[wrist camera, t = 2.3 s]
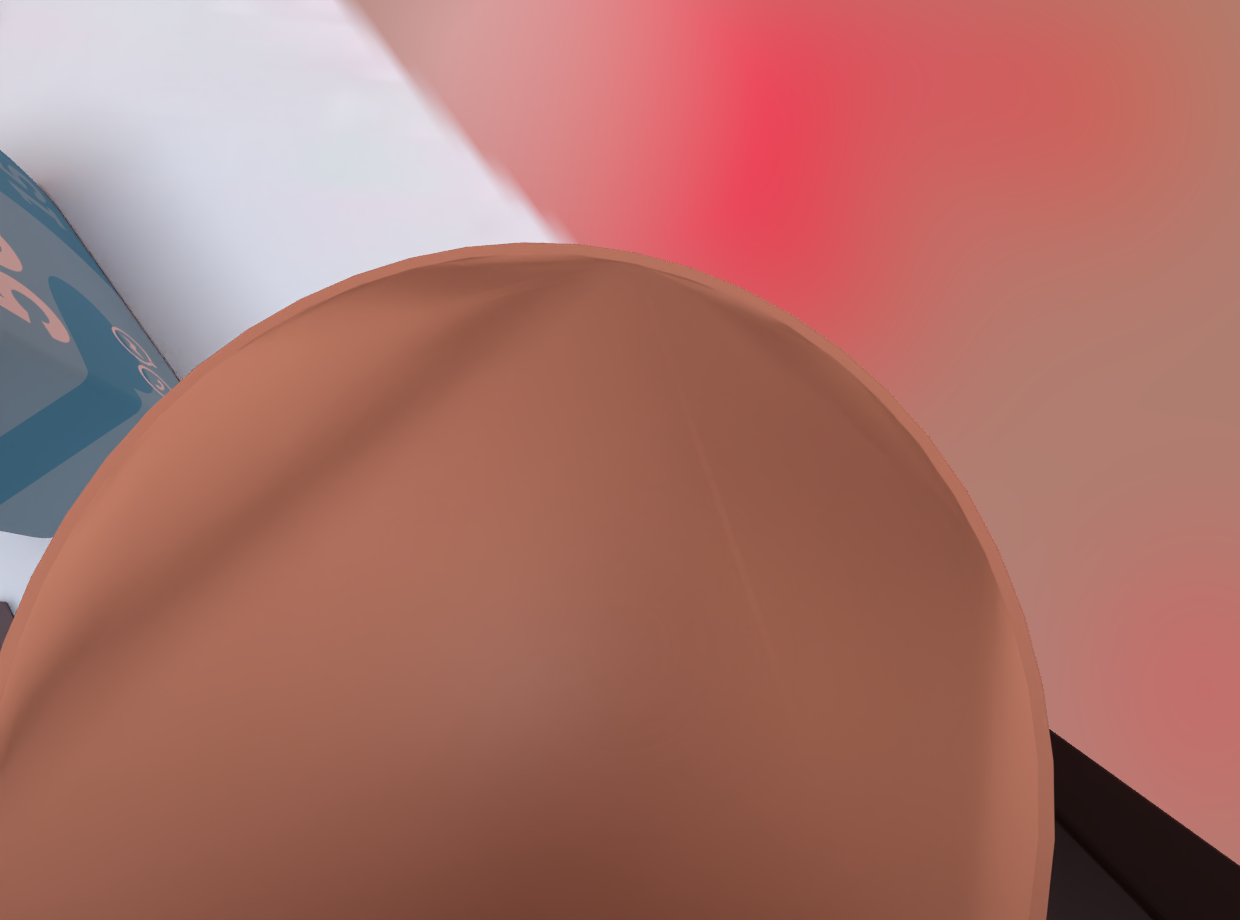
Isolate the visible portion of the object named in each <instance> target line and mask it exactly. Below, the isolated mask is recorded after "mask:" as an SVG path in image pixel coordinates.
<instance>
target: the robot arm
mask: <svg viewBox="0 0 1240 920" xmlns="http://www.w3.org/2000/svg"><path fill="white" fill-rule="evenodd" d="M1049 733H1050V740H1051V747H1052V755H1053V766H1054V829H1055V842H1054V851H1053V861H1052V870H1051V879H1050V889H1049V898H1048V907H1047V916H1046V920H1240V866H1239V865H1238V864H1236V863H1235V862H1234V861H1232V860H1231V859H1230V858H1228V857H1227V856H1225V855H1224V854H1222V853H1221V852H1220V851H1218V850H1217V849H1216V848H1214V847H1213V846H1211V845H1210V844H1208V843H1207V842H1206V841H1204V840H1203V839H1201V838H1200V837H1199V836H1197V835H1196V834H1195V833H1193V832H1192V831H1191V830H1189V829H1188V828H1186V827H1185V826H1184V825H1182V824H1181V823H1179V822H1178V821H1177V820H1175V819H1174V818H1172V817H1171V816H1170V815H1168V814H1167V813H1165V812H1164V811H1163V810H1161V809H1160V808H1159V807H1157V806H1156V805H1154V804H1153V803H1151V802H1150V801H1149V800H1147V799H1146V798H1145V797H1143V796H1142V795H1140V794H1139V793H1138V792H1136V791H1135V790H1133V789H1132V788H1131V787H1129V786H1128V785H1126V784H1125V783H1124V782H1122V781H1121V780H1119V779H1118V778H1117V777H1115V776H1114V775H1113V774H1111V773H1110V772H1108V771H1107V770H1106V769H1104V768H1103V767H1101V766H1100V765H1099V764H1097V763H1096V762H1094V761H1093V760H1092V759H1090V758H1089V757H1088V756H1086V755H1085V754H1083V753H1082V752H1081V751H1079V750H1078V749H1076V748H1075V747H1074V746H1072V745H1071V744H1069V743H1068V742H1067V741H1065V740H1064V739H1062V738H1061V737H1060V736H1058V735H1057V734H1056V733H1054V732H1053V731H1051V730H1050V729H1049Z"/></svg>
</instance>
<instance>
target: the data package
mask: <svg viewBox="0 0 1240 920" xmlns="http://www.w3.org/2000/svg"><path fill="white" fill-rule="evenodd" d="M178 383H179V381H178V379H177V378H176V376H175V375H174V374H173V372H172V371H171V369H170V368H169V366H168V365H167V364H166V362H165V361H164V359H163V358H162V356H161V355H160V354H159V352H158V351H157V349H156V348H155V346H154V345H153V344H152V342H151V341H150V339H149V338H148V337H147V335H146V334H145V332H144V331H143V329H142V328H141V327H140V325H139V324H138V322H137V321H136V319H135V318H134V317H133V315H132V314H131V312H130V311H129V309H128V308H127V307H126V305H125V304H124V302H123V301H122V300H121V298H120V297H119V295H118V294H117V292H116V291H115V290H114V288H113V287H112V285H111V284H110V282H109V281H108V280H107V278H106V277H105V275H104V274H103V273H102V271H101V270H100V268H99V267H98V265H97V264H96V263H95V261H94V260H93V258H92V257H91V255H90V254H89V253H88V251H87V250H86V248H85V247H84V245H83V244H82V243H81V241H80V240H79V238H78V237H77V236H76V234H75V233H74V231H73V230H72V228H71V227H70V226H69V224H68V223H67V221H66V220H65V218H64V217H63V216H62V214H61V213H60V211H59V210H58V209H57V207H56V206H55V205H54V203H53V202H52V201H51V200H50V199H49V197H48V196H47V195H46V194H45V193H44V192H43V191H42V190H41V188H40V187H39V186H38V185H37V184H36V183H35V182H34V181H33V180H32V179H31V178H30V177H29V176H28V175H27V174H26V173H25V172H24V171H23V170H22V169H21V168H20V167H19V166H17V165H16V164H15V163H14V162H13V161H12V160H11V159H10V158H9V157H8V156H6V155H5V154H4V153H3V152H2V151H1V150H0V531H5V532H10V533H15V534H21V535H26V536H31V537H38V538H52V537H54V535H55V533H56V531H57V530H58V528H59V526H60V524H61V522H62V521H63V519H64V517H65V515H66V514H67V512H68V511H69V510H70V508H71V507H72V505H73V504H74V503H75V501H76V500H77V498H78V497H79V496H80V494H81V493H82V491H83V490H84V489H85V487H86V486H87V484H88V483H89V482H90V480H91V479H92V477H93V476H94V475H95V473H96V472H97V470H98V469H99V467H100V466H101V465H102V463H103V462H104V460H105V459H106V458H107V457H108V456H109V455H110V453H111V452H112V451H113V450H114V449H115V448H116V447H117V446H118V444H119V443H120V442H121V441H122V440H123V439H124V438H125V437H126V435H127V434H128V433H129V432H130V431H131V430H132V429H133V428H134V426H135V425H136V424H137V423H138V422H139V421H140V420H141V419H142V417H143V416H144V415H145V414H146V413H147V412H148V411H149V410H150V409H151V408H152V407H153V406H154V405H155V404H156V403H157V402H158V401H159V400H161V399H162V398H163V397H164V396H165V395H166V394H167V393H168V392H169V391H170V390H172V389H173V388H174V387H175V386H176V385H177V384H178Z"/></svg>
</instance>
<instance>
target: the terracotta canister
mask: <svg viewBox="0 0 1240 920" xmlns="http://www.w3.org/2000/svg"><path fill="white" fill-rule="evenodd" d="M1054 842H1055V829H1054V766H1053V755H1052V747H1051V740H1050V733H1049V726H1048V718H1047V711H1046V704H1045V697H1044V689H1043V684H1042V680H1041V676H1040V673H1039V669H1038V665H1037V661H1036V657H1035V654H1034V650H1033V646H1032V642H1031V638H1030V634H1029V630H1028V627H1027V623H1026V619H1025V616H1024V613H1023V610H1022V608H1021V605H1020V603H1019V600H1018V597H1017V595H1016V592H1015V590H1014V588H1013V585H1012V582H1011V580H1010V577H1009V574H1008V572H1007V569H1006V567H1005V565H1004V562H1003V560H1002V557H1001V555H1000V552H999V550H998V547H997V546H996V544H995V542H994V540H993V538H992V536H991V534H990V533H989V531H988V529H987V527H986V525H985V523H984V521H983V520H982V518H981V516H980V514H979V512H978V510H977V509H976V506H975V505H974V503H973V501H972V499H971V497H970V495H969V494H968V491H967V490H966V488H965V487H964V486H963V484H962V483H961V481H960V480H959V478H958V477H957V476H956V474H955V473H954V471H953V470H952V468H951V467H950V465H949V464H948V463H947V461H946V460H945V458H944V457H943V455H942V454H941V453H940V451H939V450H938V448H937V447H936V445H935V444H934V443H933V441H932V440H931V438H930V437H929V436H928V435H927V434H926V432H925V431H924V430H923V429H922V428H921V427H920V426H919V425H918V423H917V422H916V421H915V420H914V419H913V418H912V417H911V416H910V414H909V413H908V412H907V411H906V410H905V409H904V408H903V407H902V405H901V404H900V403H899V402H898V401H897V400H896V399H895V398H894V396H893V395H892V394H891V393H890V392H889V391H888V390H887V389H886V388H885V387H884V386H883V385H882V384H880V383H879V382H878V381H877V380H876V379H875V378H874V377H873V376H871V375H870V374H869V373H868V372H867V371H866V370H864V368H862V367H861V366H860V365H859V364H858V363H857V362H856V361H855V360H853V359H852V358H851V357H850V356H849V355H848V354H847V353H846V352H844V351H843V350H842V349H841V348H839V347H838V346H836V345H835V344H834V343H832V342H831V341H829V340H828V339H826V338H825V337H824V336H822V335H820V334H819V333H818V332H816V331H815V330H814V329H812V328H811V327H809V326H808V325H806V324H805V323H804V322H802V321H800V320H799V319H798V318H796V317H795V316H793V315H792V314H790V313H788V312H786V311H784V310H782V309H780V308H779V307H777V306H775V305H773V304H771V303H769V302H767V301H765V300H764V299H762V298H760V297H758V296H756V295H754V294H753V293H751V292H749V291H747V290H745V289H743V288H741V287H738V286H736V285H733V284H731V283H728V282H726V281H723V280H721V279H718V278H716V277H713V276H711V275H708V274H706V273H703V272H701V271H698V270H695V269H693V268H690V267H687V266H683V265H679V264H676V263H672V262H668V261H665V260H661V259H657V258H653V257H650V256H646V255H642V254H638V253H634V252H627V251H621V250H614V249H608V248H601V247H594V246H587V245H580V244H554V243H510V244H498V245H486V246H473V247H464V248H459V249H454V250H449V251H444V252H439V253H433V254H428V255H423V256H418V257H413V258H409V259H405V260H402V261H399V262H396V263H393V264H390V265H386V266H383V267H380V268H377V269H374V270H370V271H367V272H364V273H361V274H358V275H354V276H352V277H350V278H348V279H345V280H343V281H341V282H338V283H336V284H334V285H332V286H329V287H327V288H325V289H323V290H320V291H318V292H316V293H313V294H311V295H309V296H307V297H304V298H302V299H300V300H298V301H296V302H295V303H293V304H291V305H289V306H288V307H286V308H284V309H282V310H281V311H279V312H277V313H275V314H274V315H272V316H270V317H269V318H267V319H265V320H263V321H262V322H260V323H258V324H256V325H255V326H253V327H251V328H249V329H248V330H246V331H245V332H244V333H242V334H241V335H239V336H238V337H237V338H235V339H234V340H233V341H231V342H230V343H228V344H227V345H226V346H224V347H223V348H222V349H220V350H219V351H217V352H216V353H215V354H213V355H212V356H211V357H209V358H208V359H206V360H205V361H204V362H202V363H201V364H200V365H198V366H197V367H196V368H195V369H194V370H192V371H191V372H190V373H189V374H188V375H187V376H186V377H185V378H184V379H183V380H181V381H180V382H179V383H178V384H177V385H176V386H175V387H174V388H173V389H172V390H170V391H169V392H168V393H167V394H166V395H165V396H164V397H163V398H162V399H161V400H159V401H158V402H157V403H156V404H155V405H154V406H153V407H152V408H151V409H150V410H149V411H148V412H147V413H146V414H145V415H144V416H143V417H142V419H141V420H140V421H139V422H138V423H137V424H136V425H135V426H134V428H133V429H132V430H131V431H130V432H129V433H128V434H127V435H126V437H125V438H124V439H123V440H122V441H121V442H120V443H119V444H118V446H117V447H116V448H115V449H114V450H113V451H112V452H111V453H110V455H109V456H108V457H107V458H106V459H105V460H104V462H103V463H102V465H101V466H100V467H99V469H98V470H97V472H96V473H95V475H94V476H93V477H92V479H91V480H90V482H89V483H88V484H87V486H86V487H85V489H84V490H83V491H82V493H81V494H80V496H79V497H78V498H77V500H76V501H75V503H74V504H73V505H72V507H71V508H70V510H69V511H68V512H67V514H66V515H65V517H64V519H63V521H62V522H61V524H60V526H59V528H58V530H57V531H56V533H55V535H54V537H53V539H52V540H51V542H50V544H49V546H48V548H47V549H46V551H45V553H44V555H43V556H42V558H41V560H40V562H39V564H38V565H37V567H36V569H35V571H34V573H33V574H32V576H31V578H30V581H29V583H28V585H27V588H26V590H25V593H24V595H23V597H22V600H21V602H20V604H19V607H18V609H17V612H16V614H15V616H14V619H13V621H12V623H11V626H10V628H9V630H8V633H7V635H6V638H5V640H4V642H3V645H2V648H1V652H0V920H1046V916H1047V907H1048V898H1049V889H1050V879H1051V870H1052V861H1053V851H1054Z"/></svg>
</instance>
